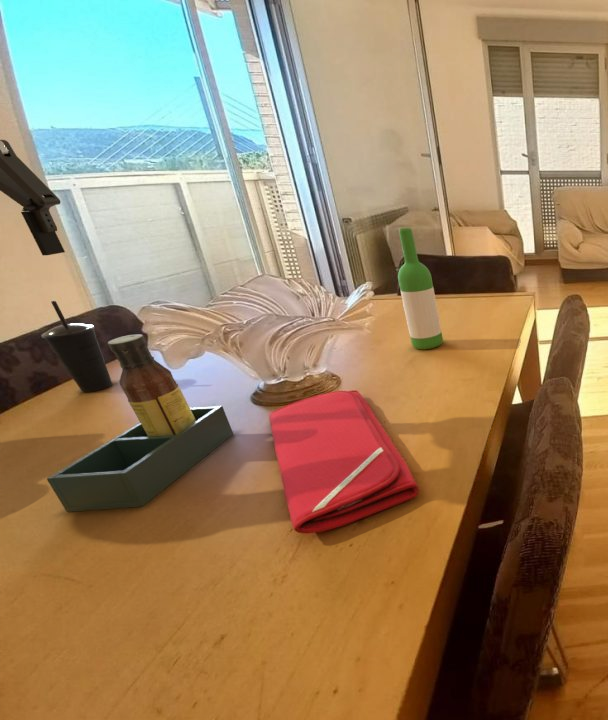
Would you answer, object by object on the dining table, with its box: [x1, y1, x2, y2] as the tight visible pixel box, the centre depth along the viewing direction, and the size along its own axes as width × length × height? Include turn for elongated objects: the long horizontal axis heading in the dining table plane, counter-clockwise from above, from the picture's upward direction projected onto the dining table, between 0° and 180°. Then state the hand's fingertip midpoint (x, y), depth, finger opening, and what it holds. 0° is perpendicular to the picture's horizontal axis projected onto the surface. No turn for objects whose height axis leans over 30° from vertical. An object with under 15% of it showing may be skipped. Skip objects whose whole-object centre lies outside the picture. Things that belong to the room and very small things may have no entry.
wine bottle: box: [397, 227, 444, 351], centre depth 119 cm, size 8×8×30 cm
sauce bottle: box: [107, 333, 196, 436], centre depth 76 cm, size 7×6×20 cm
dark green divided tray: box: [46, 405, 234, 513], centre depth 75 cm, size 10×20×6 cm, turn 5°
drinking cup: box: [41, 300, 113, 393], centre depth 102 cm, size 8×8×20 cm
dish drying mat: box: [268, 389, 419, 534], centre depth 78 cm, size 16×41×4 cm, turn 38°
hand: (7, 255), depth 74 cm, fingers open, 13 cm apart
